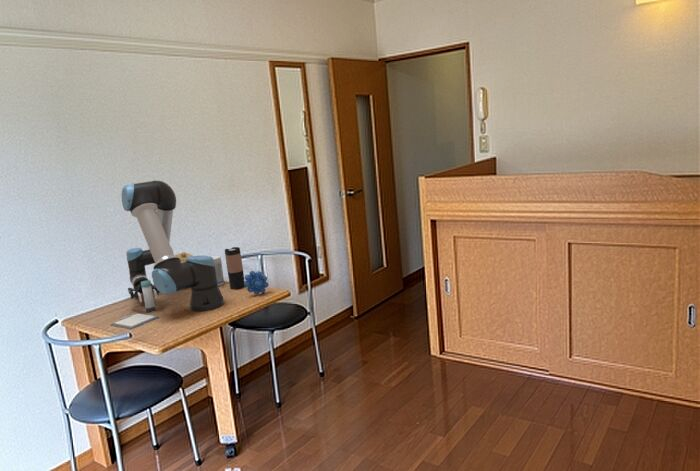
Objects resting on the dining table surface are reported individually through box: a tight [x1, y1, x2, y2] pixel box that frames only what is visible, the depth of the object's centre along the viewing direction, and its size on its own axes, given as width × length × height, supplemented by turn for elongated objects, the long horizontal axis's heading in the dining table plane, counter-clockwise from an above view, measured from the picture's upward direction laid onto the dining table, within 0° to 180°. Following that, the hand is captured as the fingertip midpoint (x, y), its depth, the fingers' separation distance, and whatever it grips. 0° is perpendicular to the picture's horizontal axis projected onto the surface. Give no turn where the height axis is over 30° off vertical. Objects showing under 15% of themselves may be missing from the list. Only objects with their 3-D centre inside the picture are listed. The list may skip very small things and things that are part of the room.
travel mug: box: [224, 246, 246, 291], centre depth 263 cm, size 8×8×20 cm
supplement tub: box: [209, 255, 225, 287], centre depth 272 cm, size 10×10×15 cm
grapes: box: [244, 270, 269, 296], centre depth 247 cm, size 12×7×12 cm, turn 116°
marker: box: [141, 279, 156, 313], centre depth 239 cm, size 4×4×14 cm
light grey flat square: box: [110, 312, 160, 330], centre depth 228 cm, size 14×14×1 cm
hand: (148, 297), depth 235 cm, fingers open, 6 cm apart
